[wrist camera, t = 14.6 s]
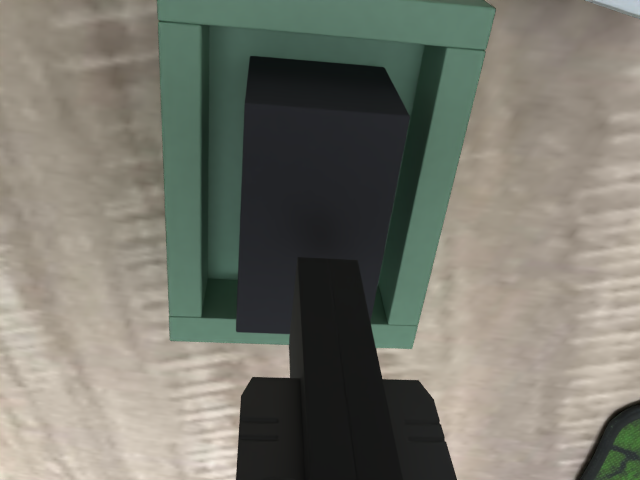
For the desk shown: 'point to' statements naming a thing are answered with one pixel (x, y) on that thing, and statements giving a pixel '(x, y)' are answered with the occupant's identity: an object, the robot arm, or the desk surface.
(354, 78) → the black rectangular block
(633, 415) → the mouse mat
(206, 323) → the green open tray
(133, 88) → the desk surface
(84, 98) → the desk surface
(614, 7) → the product box
